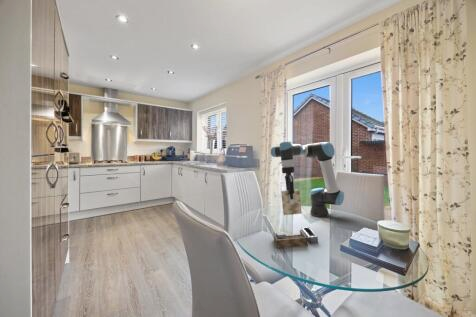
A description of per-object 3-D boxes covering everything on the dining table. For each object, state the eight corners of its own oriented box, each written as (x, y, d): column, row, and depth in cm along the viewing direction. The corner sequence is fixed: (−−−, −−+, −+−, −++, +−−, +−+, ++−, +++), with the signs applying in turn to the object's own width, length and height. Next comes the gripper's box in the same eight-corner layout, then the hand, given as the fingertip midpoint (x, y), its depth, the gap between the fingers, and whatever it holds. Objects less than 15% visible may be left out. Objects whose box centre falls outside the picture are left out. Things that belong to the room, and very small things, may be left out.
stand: (301, 233, 139) (301, 227, 139) (309, 232, 139) (309, 226, 139) (309, 243, 123) (308, 237, 123) (318, 242, 123) (317, 236, 123)
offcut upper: (283, 235, 132) (283, 231, 132) (286, 238, 127) (285, 234, 127) (276, 236, 132) (275, 232, 132) (278, 239, 127) (277, 235, 127)
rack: (302, 237, 133) (301, 229, 133) (307, 245, 121) (307, 237, 121) (274, 239, 134) (273, 232, 134) (277, 248, 122) (276, 240, 121)
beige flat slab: (300, 212, 125) (298, 189, 124) (301, 213, 123) (299, 189, 122) (283, 214, 125) (281, 190, 125) (284, 215, 123) (281, 191, 123)
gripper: (279, 166, 131) (283, 201, 131) (284, 168, 116) (288, 207, 116) (290, 165, 131) (294, 200, 131) (297, 166, 115) (300, 206, 116)
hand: (291, 203), depth 124 cm, fingers closed on beige flat slab, 2 cm apart
